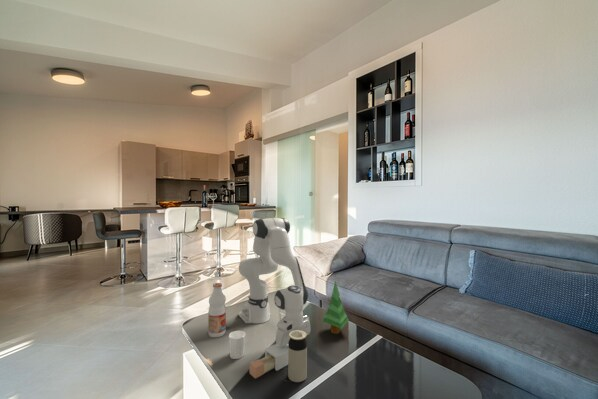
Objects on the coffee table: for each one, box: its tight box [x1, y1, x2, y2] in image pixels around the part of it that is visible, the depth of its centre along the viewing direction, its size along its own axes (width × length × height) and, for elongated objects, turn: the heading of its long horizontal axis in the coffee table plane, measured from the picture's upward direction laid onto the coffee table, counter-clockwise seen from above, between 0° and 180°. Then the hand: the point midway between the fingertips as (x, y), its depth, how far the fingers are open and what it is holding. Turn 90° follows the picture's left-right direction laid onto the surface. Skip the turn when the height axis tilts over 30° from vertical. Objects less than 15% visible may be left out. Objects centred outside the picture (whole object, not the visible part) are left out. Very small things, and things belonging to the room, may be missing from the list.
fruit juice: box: [207, 282, 227, 338], centre depth 147 cm, size 9×9×28 cm
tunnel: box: [264, 343, 288, 371], centre depth 120 cm, size 9×8×6 cm
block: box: [249, 358, 265, 379], centre depth 113 cm, size 4×4×4 cm
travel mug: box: [287, 330, 308, 383], centre depth 111 cm, size 8×8×18 cm
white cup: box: [228, 330, 246, 360], centre depth 126 cm, size 8×8×10 cm
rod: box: [259, 345, 288, 374], centre depth 120 cm, size 4×18×4 cm, turn 133°
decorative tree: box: [321, 279, 350, 335], centre depth 149 cm, size 14×16×30 cm
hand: (294, 348), depth 127 cm, fingers closed
